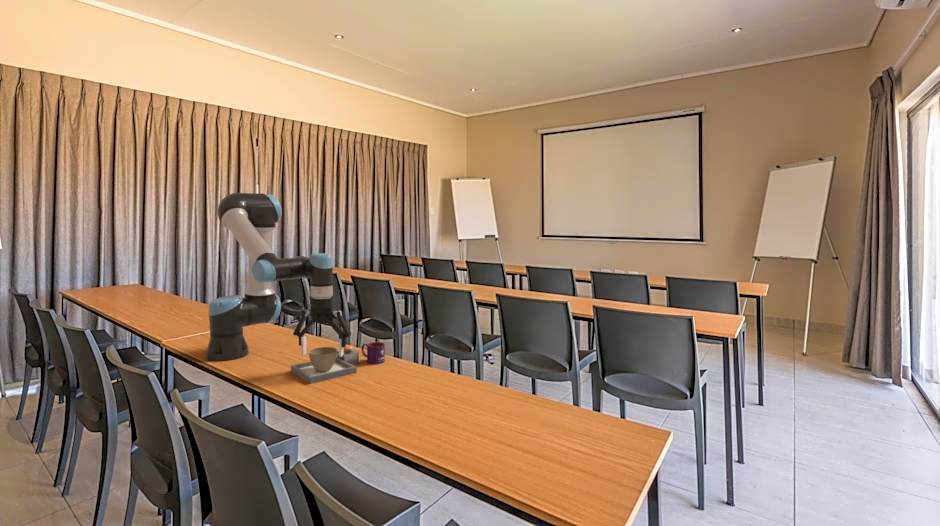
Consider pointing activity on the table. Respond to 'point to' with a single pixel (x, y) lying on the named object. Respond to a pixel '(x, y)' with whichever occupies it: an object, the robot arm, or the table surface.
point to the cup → (375, 352)
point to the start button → (348, 349)
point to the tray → (313, 376)
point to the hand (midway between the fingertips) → (322, 355)
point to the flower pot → (323, 358)
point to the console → (350, 356)
